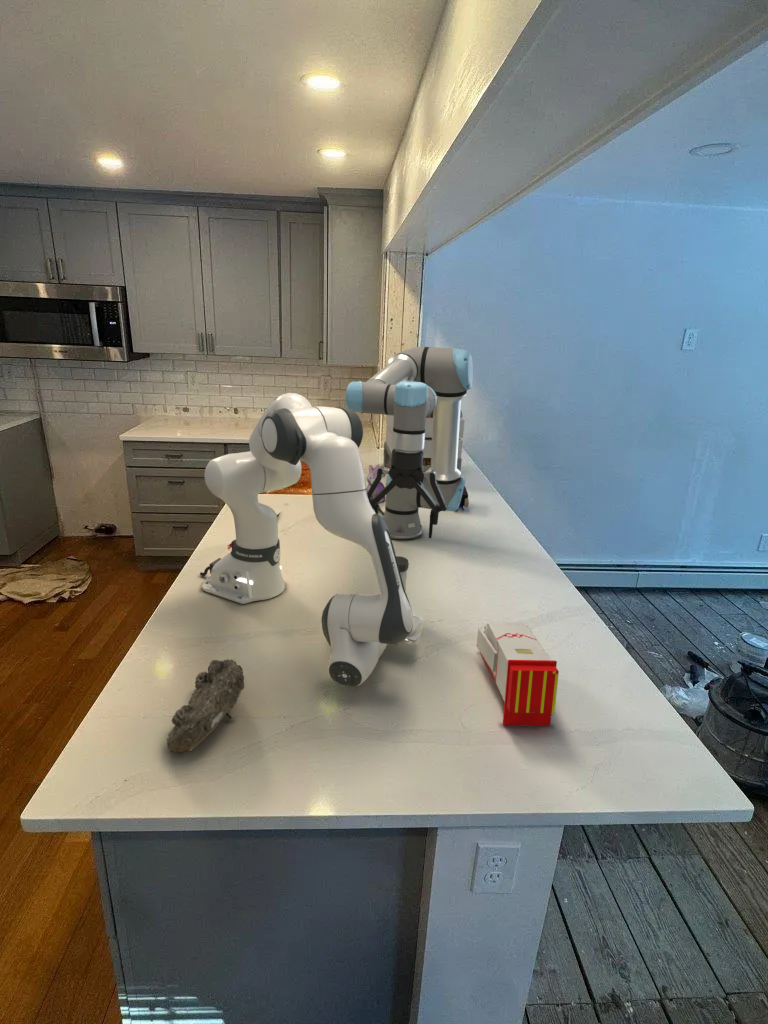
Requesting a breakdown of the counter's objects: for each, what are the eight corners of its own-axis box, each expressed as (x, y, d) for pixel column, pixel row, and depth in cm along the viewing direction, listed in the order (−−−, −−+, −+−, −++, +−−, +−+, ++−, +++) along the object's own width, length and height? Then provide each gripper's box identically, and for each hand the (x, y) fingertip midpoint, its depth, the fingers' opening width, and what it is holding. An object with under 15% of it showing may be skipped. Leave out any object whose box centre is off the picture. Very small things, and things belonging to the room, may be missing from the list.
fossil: (192, 660, 117) (244, 628, 112) (224, 691, 120) (276, 661, 115) (142, 746, 98) (202, 712, 93) (182, 779, 101) (242, 748, 96)
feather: (287, 506, 225) (290, 502, 224) (270, 530, 198) (272, 526, 198) (283, 504, 225) (286, 500, 224) (265, 527, 198) (268, 523, 197)
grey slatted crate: (382, 463, 289) (386, 382, 275) (445, 464, 293) (451, 384, 279) (390, 482, 257) (394, 392, 243) (460, 483, 261) (468, 394, 247)
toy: (524, 607, 134) (567, 667, 105) (519, 659, 137) (560, 732, 107) (473, 606, 133) (502, 666, 104) (469, 658, 136) (497, 731, 107)
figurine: (370, 505, 227) (371, 469, 222) (359, 497, 235) (360, 462, 230) (391, 502, 231) (393, 467, 226) (379, 495, 240) (381, 460, 234)
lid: (388, 572, 140) (388, 565, 139) (385, 563, 145) (385, 556, 144) (409, 572, 140) (410, 565, 140) (406, 563, 146) (406, 555, 145)
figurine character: (468, 516, 224) (463, 500, 237) (471, 498, 221) (465, 483, 234) (452, 515, 224) (447, 499, 237) (453, 498, 220) (449, 482, 234)
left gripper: (415, 632, 123) (430, 602, 135) (328, 614, 128) (349, 587, 140) (414, 656, 125) (428, 625, 137) (327, 638, 130) (349, 609, 143)
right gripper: (461, 450, 135) (453, 533, 142) (358, 442, 138) (356, 523, 145) (460, 457, 128) (452, 544, 135) (352, 449, 131) (350, 534, 138)
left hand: (387, 606), depth 139 cm, fingers open, 8 cm apart
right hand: (402, 533), depth 140 cm, fingers open, 13 cm apart
